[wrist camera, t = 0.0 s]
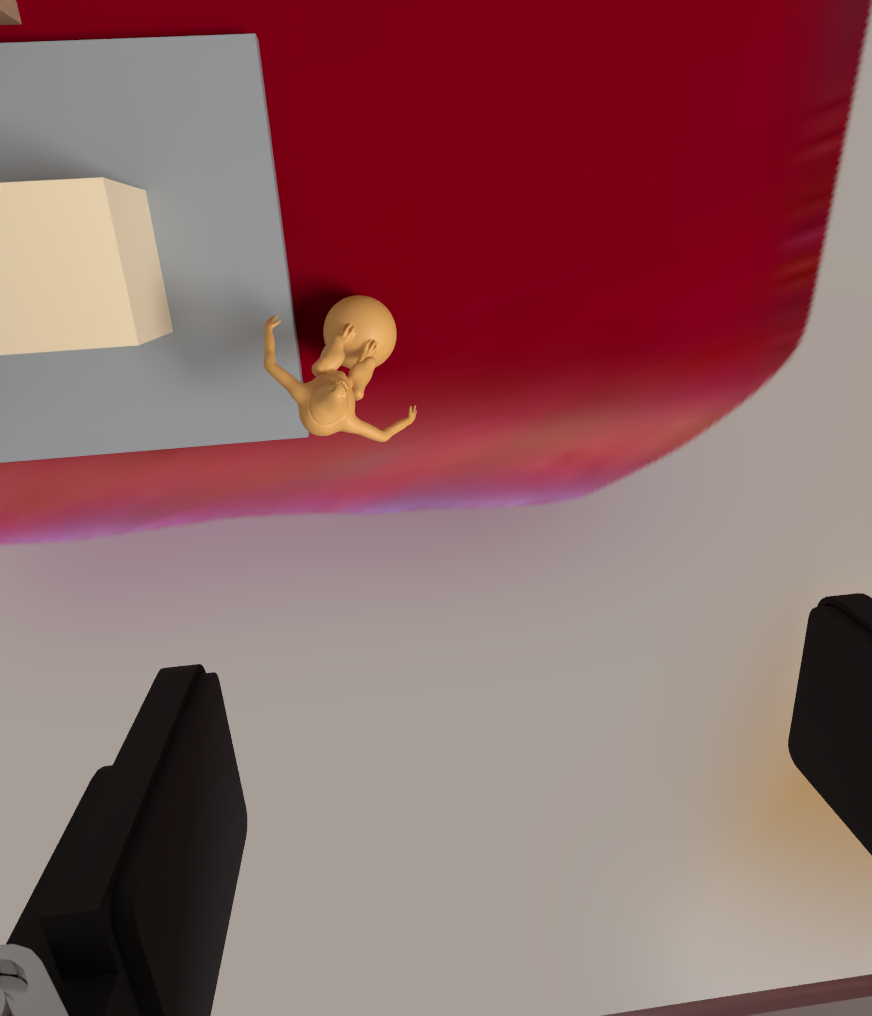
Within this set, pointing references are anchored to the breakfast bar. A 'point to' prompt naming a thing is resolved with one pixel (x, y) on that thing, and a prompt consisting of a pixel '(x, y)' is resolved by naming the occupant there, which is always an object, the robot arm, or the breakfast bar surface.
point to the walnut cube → (9, 12)
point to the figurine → (331, 395)
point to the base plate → (199, 236)
